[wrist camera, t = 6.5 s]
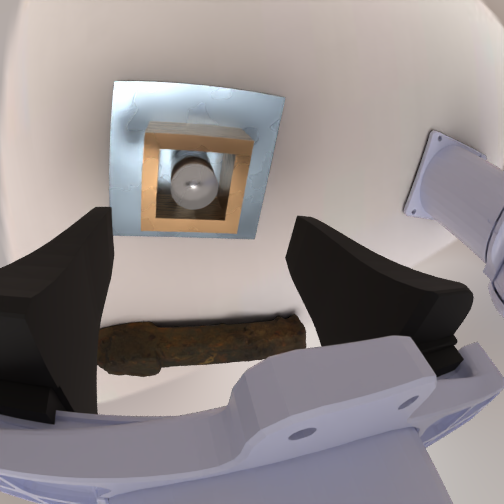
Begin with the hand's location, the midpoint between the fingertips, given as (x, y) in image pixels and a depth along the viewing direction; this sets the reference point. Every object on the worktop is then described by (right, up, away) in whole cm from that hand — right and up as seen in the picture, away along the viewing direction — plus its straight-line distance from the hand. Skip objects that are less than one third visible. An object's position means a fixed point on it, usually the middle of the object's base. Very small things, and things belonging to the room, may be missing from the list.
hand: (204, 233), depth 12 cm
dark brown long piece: (-3, -8, +16) cm, 18 cm away
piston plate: (-2, +5, +7) cm, 9 cm away
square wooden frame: (-2, +4, +6) cm, 8 cm away
